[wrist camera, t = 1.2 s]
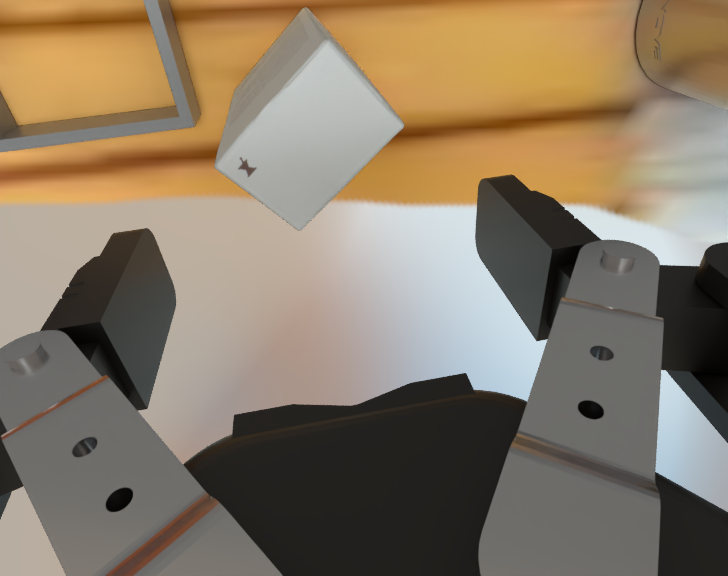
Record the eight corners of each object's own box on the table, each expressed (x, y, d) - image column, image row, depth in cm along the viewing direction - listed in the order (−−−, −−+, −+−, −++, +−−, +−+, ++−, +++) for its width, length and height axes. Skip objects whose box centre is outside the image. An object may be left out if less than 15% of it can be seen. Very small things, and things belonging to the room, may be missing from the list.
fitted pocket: (145, -81, 22) (132, -85, 20) (200, 114, 27) (194, 127, 25) (-91, -58, 21) (-131, -59, 19) (12, 138, 26) (-11, 153, 24)
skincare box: (290, 141, 29) (296, 237, 19) (232, 89, 27) (206, 167, 17) (362, 64, 27) (409, 127, 17) (306, 1, 25) (324, 32, 15)
